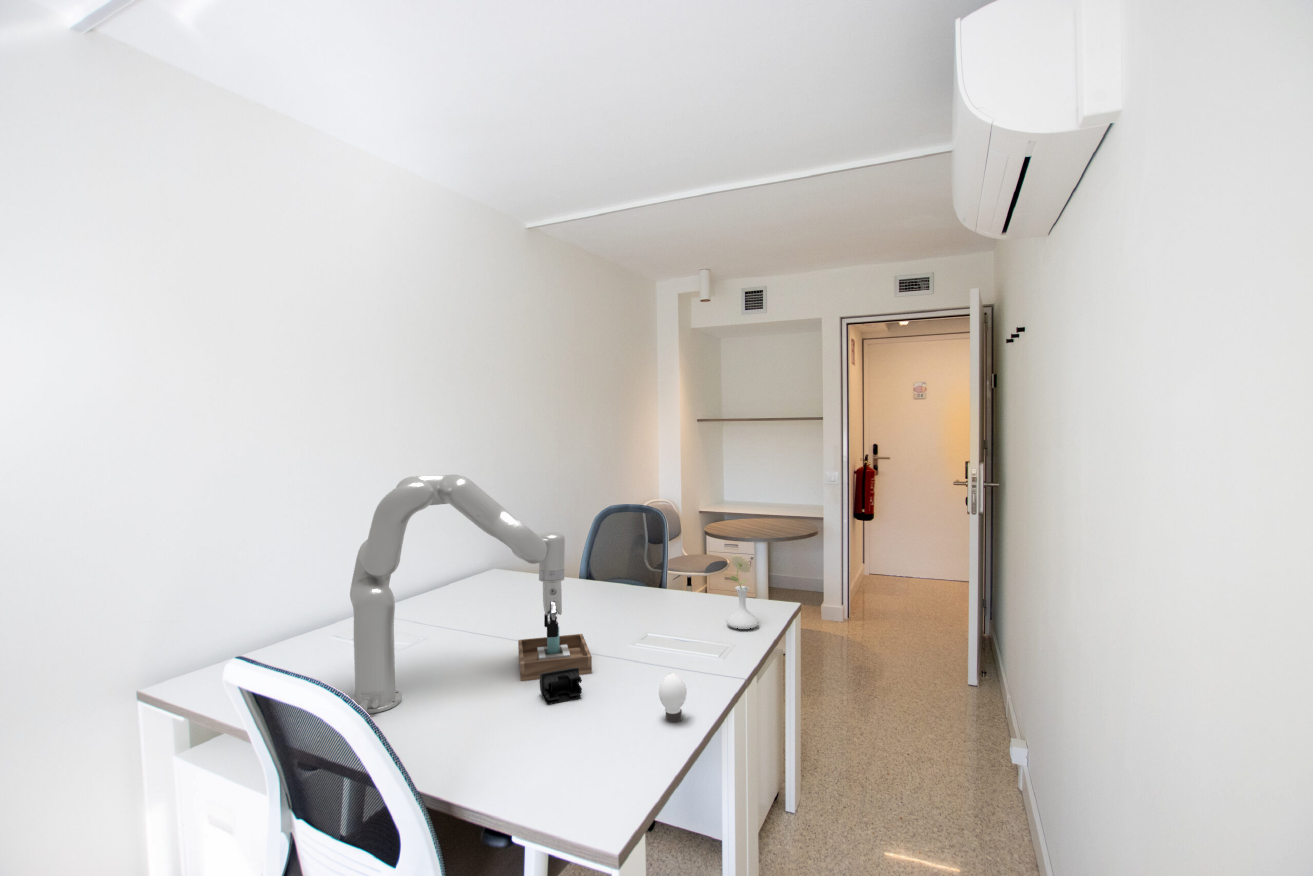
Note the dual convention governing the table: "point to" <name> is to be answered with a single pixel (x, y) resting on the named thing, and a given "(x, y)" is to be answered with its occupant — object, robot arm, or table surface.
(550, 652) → the peg
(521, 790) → the table surface
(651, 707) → the table surface
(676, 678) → the light bulb
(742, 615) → the flower in vase
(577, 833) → the table surface
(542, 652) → the box
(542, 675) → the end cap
